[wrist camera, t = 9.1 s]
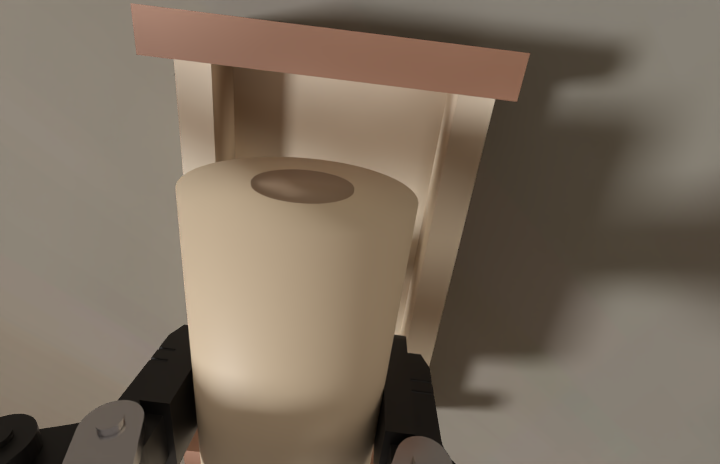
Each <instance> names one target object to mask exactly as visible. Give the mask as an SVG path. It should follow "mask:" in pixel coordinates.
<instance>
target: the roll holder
mask: <svg viewBox="0 0 720 464" xmlns="http://www.w3.org/2000/svg"><path fill="white" fill-rule="evenodd" d="M131 11H132V19H133V28H134V36H135V45H136V53H137V55H144V56H153V57H161V58H169V59H174V68H175V80H176V93H177V105H178V117H179V130H180V142H181V154H182V166H183V175H185V174H186V173H187V172H189V171H191V170H193V169H196V168H198V167H201V166H204V165H207V164H211V163H215V162H220V161H225V160H232V159H240V158H251V157H298V158H310V159H320V160H327V161H334V162H340V163H345V164H350V165H354V166H359V167H363V168H366V169H370V170H373V171H376V172H379V173H382V174H384V175H387V176H389V177H392V178H394V179H396V180H398V181H400V182H401V183H403V184H405V185H406V186H407V187H409V188H410V189H411V190H412V191H413V192H414V193H415V195H416V196H417V198H418V202H419V204H418V209H417V215H416V220H415V226H414V231H413V236H412V242H411V247H410V252H409V258H408V263H407V268H406V274H405V279H404V285H403V290H402V295H401V301H400V306H399V311H398V317H397V322H396V327H395V333H394V335H402V336H406V341H407V352H408V353H414V354H421V356H422V357H423V359H424V360H425V362H426V363H427V365H428V366H430V362H431V358H432V353H433V349H434V345H435V341H436V337H437V333H438V329H439V325H440V321H441V317H442V313H443V309H444V305H445V301H446V297H447V293H448V289H449V285H450V281H451V277H452V273H453V268H454V264H455V260H456V256H457V252H458V248H459V244H460V240H461V236H462V232H463V228H464V224H465V220H466V216H467V212H468V208H469V204H470V200H471V196H472V192H473V188H474V183H475V179H476V175H477V171H478V167H479V163H480V159H481V155H482V151H483V147H484V143H485V139H486V135H487V131H488V127H489V123H490V119H491V115H492V111H493V107H494V103H495V99H499V100H507V101H515V102H517V100H518V96H519V93H520V89H521V85H522V81H523V78H524V74H525V70H526V67H527V63H528V59H529V56H530V53H524V52H516V51H508V50H500V49H492V48H484V47H476V46H468V45H460V44H452V43H444V42H436V41H428V40H420V39H412V38H404V37H396V36H388V35H380V34H372V33H364V32H356V31H348V30H340V29H332V28H324V27H316V26H308V25H300V24H292V23H284V22H276V21H268V20H260V19H252V18H244V17H236V16H228V15H220V14H212V13H204V12H196V11H187V10H179V9H171V8H163V7H155V6H147V5H139V4H131ZM373 457H374V445H373V451H372V456H371V462H370V464H373ZM184 461H185V464H201V460H200V449H199V438H198V428H197V430H196V432H195V434H194V436H193V438H192V440H191V442H190V444H189V446H188V448H187V450H186V452H185V454H184Z"/></svg>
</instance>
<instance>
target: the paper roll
mask: <svg viewBox="0 0 720 464" xmlns="http://www.w3.org/2000/svg"><path fill="white" fill-rule="evenodd" d="M175 189H176V199H177V210H178V221H179V232H180V243H181V254H182V264H183V275H184V286H185V297H186V308H187V319H188V330H189V340H190V351H191V362H192V373H193V384H194V395H195V405H196V416H197V427H198V438H199V449H200V460H201V464H370V462H371V456H372V451H373V445H374V440H375V434H376V429H377V424H378V418H379V413H380V408H381V402H382V397H383V391H384V386H385V381H386V376H387V370H388V365H389V360H390V354H391V349H392V344H393V338H394V333H395V327H396V322H397V317H398V311H399V306H400V301H401V295H402V290H403V285H404V279H405V274H406V268H407V263H408V258H409V252H410V247H411V242H412V236H413V231H414V226H415V220H416V215H417V209H418V204H419V202H418V198H417V196H416V195H415V193H414V192H413V191H412V190H411V189H410V188H409V187H407V186H406V185H405V184H403V183H401V182H400V181H398V180H396V179H394V178H392V177H389V176H387V175H384V174H382V173H379V172H376V171H373V170H370V169H366V168H363V167H359V166H354V165H350V164H345V163H340V162H334V161H327V160H320V159H310V158H298V157H251V158H240V159H232V160H225V161H220V162H215V163H211V164H207V165H204V166H201V167H198V168H196V169H193V170H191V171H189V172H187V173H186V174H185V175H183V176H182V177H181V178H180V179H179V180H178V181H177V184H176V187H175Z"/></svg>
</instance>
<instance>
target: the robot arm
mask: <svg viewBox="0 0 720 464" xmlns="http://www.w3.org/2000/svg"><path fill="white" fill-rule="evenodd" d="M197 428H198V427H197V416H196V405H195V395H194V384H193V373H192V362H191V351H190V340H189V330H188V325H183V326H182V327H180V328H179V329H177V330H176V331H174V332H173V333H171V334H170V335H169V336H168V337H167V338H166V340H165V341H164V342H163V343H162V345H161V346H160V348H159V350H157V351H156V352H155V354H154V355H153V356H152V357H151V360H149V361H148V362H147V364H146V365H145V366H144V368H143V369H142V370H141V371H140V373H139V374H138V375H137V377H136V378H135V379H134V380H133V382H132V383H131V384H130V385H129V387H128V388H127V389H126V391H125V392H124V393H123V394H122V396H121V397H120V398H119V399H118V401H113V402H110V403H106V404H104V405H102V406H100V407H98V408H96V409H94V410H93V411H91V412H90V413H89V414H88V415H86V416H85V417H84V418H83V419H82V421H81V422H80V423H76V424H70V425H64V426H57V427H51V428H44V429H39V428H38V425H37V422H36V420H35V419H34V418H33V417H31V416H29V415H26V414H12V415H7V416H3V417H0V464H180V462H181V460H182V458H183V456H184V454H185V452H186V450H187V448H188V446H189V444H190V442H191V440H192V438H193V436H194V434H195V432H196V430H197ZM373 464H455V463H454V462H453V461H452V460H451V458H450V456H449V455H448V453H447V451H446V450H445V449H444V447H443V445H442V441H441V436H440V430H439V424H438V418H437V411H436V405H435V399H434V396H433V387H432V384H431V375H430V369H429V366H428V365H427V363H426V362H425V360H424V359H423V357H422V356H421V354H414V353H408V352H407V341H406V336H402V335H394V338H393V344H392V349H391V354H390V360H389V365H388V370H387V376H386V381H385V386H384V391H383V397H382V402H381V408H380V413H379V418H378V424H377V429H376V434H375V440H374V457H373Z"/></svg>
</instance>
